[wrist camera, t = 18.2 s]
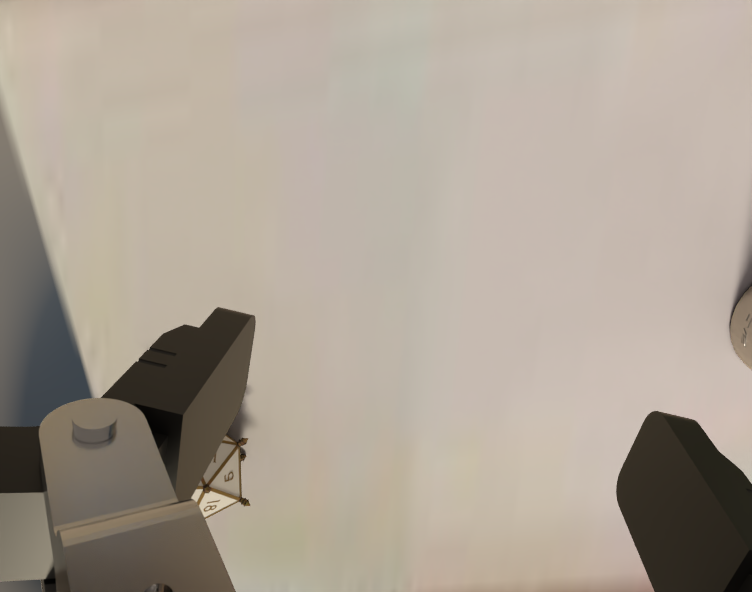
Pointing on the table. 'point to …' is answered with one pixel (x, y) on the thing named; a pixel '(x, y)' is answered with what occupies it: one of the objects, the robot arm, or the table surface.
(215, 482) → the game die
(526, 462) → the table surface
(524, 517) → the table surface
